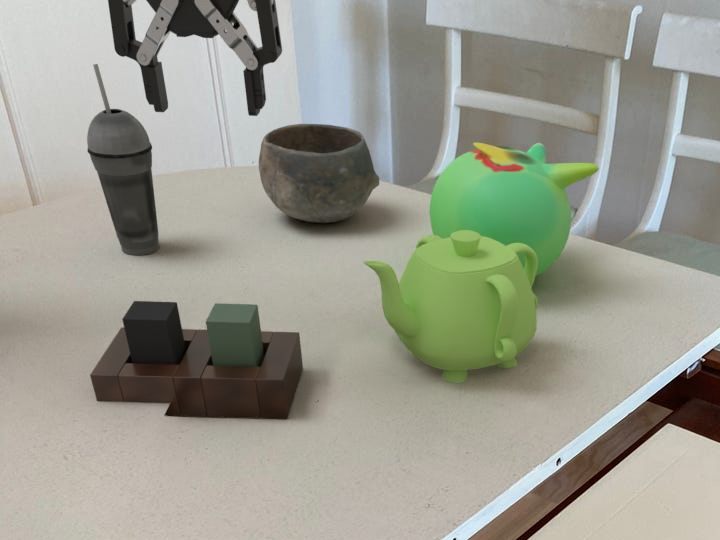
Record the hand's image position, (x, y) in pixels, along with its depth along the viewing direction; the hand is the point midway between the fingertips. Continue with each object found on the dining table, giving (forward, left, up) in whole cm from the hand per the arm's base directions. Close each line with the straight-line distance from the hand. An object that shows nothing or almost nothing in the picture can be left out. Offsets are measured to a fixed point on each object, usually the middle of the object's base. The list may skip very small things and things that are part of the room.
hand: (208, 112), depth 89 cm
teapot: (+23, -4, -22) cm, 32 cm away
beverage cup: (-17, +24, -22) cm, 36 cm away
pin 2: (+3, -12, -22) cm, 25 cm away
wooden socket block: (-1, -12, -22) cm, 25 cm away
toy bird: (+28, +19, -22) cm, 40 cm away
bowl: (+4, +37, -22) cm, 43 cm away
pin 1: (-5, -12, -22) cm, 25 cm away
